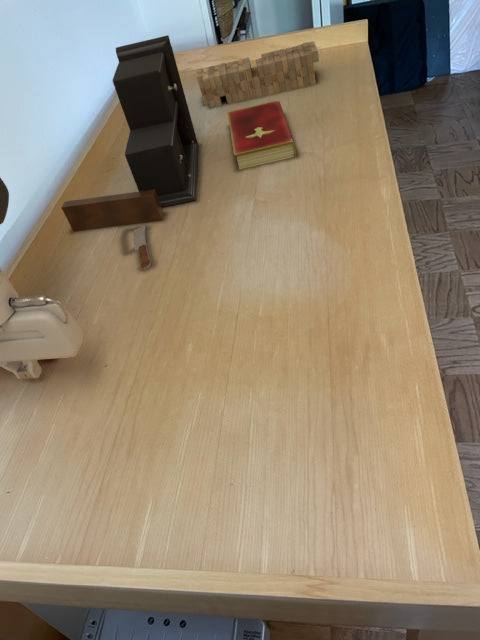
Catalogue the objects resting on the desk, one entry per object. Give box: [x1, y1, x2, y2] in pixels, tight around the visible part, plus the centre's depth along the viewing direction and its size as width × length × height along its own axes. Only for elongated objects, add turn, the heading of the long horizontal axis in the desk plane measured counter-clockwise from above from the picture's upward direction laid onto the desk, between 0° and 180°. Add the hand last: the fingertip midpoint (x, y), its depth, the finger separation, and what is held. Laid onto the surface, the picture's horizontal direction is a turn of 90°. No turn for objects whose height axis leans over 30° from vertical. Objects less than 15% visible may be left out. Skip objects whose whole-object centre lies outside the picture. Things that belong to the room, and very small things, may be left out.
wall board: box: [61, 189, 165, 232], centre depth 99 cm, size 18×2×6 cm, turn 85°
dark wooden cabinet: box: [112, 34, 200, 209], centre depth 102 cm, size 23×11×24 cm, turn 2°
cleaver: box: [132, 225, 152, 271], centre depth 94 cm, size 13×2×5 cm
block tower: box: [196, 40, 320, 109], centre depth 130 cm, size 8×8×29 cm
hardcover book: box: [226, 99, 297, 170], centre depth 112 cm, size 12×21×4 cm, turn 5°
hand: (31, 375), depth 74 cm, fingers closed
